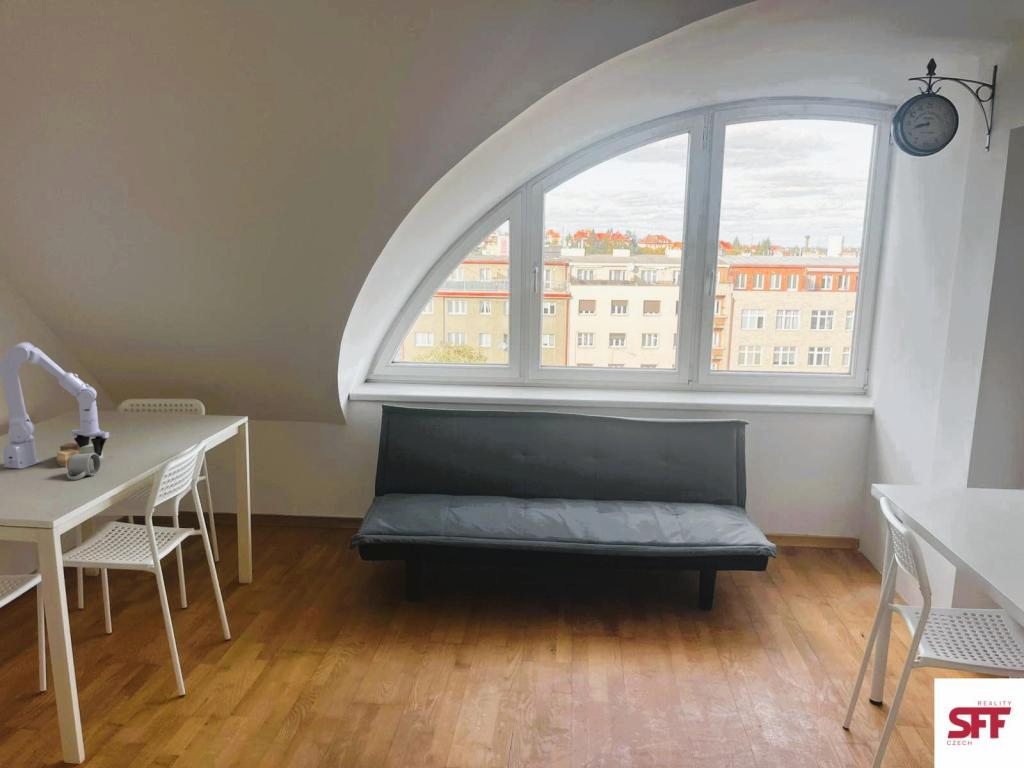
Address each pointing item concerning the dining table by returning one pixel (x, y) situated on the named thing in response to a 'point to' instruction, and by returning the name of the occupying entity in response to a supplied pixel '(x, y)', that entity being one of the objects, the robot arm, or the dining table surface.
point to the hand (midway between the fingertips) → (92, 455)
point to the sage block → (89, 450)
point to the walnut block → (70, 447)
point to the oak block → (65, 456)
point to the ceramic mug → (83, 465)
